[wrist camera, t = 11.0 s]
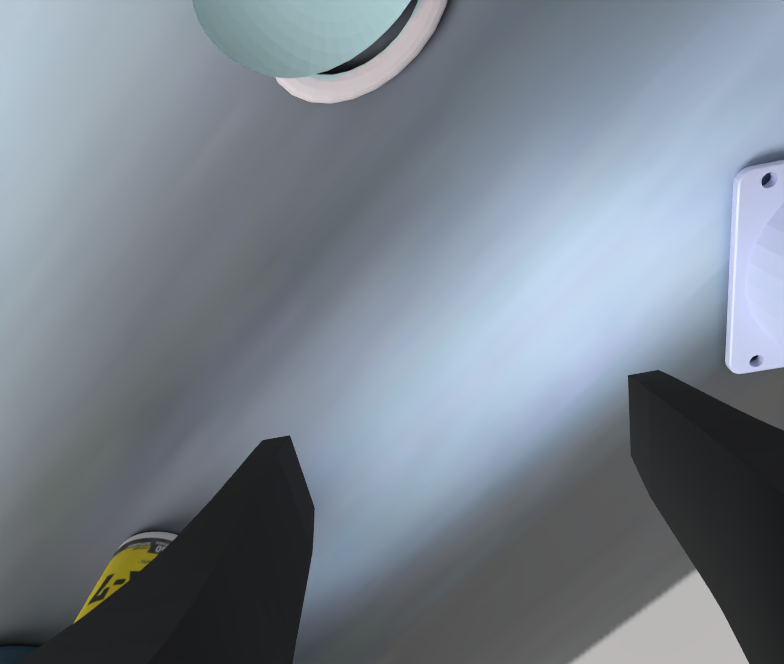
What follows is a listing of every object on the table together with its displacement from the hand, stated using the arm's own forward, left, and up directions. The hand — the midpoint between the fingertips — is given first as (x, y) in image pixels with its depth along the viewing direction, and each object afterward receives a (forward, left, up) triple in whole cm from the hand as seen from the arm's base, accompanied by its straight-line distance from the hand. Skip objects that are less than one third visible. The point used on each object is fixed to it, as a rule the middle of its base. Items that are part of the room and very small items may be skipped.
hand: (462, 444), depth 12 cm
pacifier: (+1, -10, -11) cm, 15 cm away
